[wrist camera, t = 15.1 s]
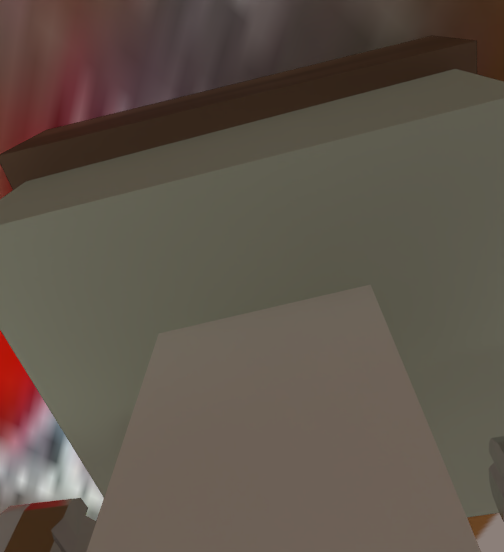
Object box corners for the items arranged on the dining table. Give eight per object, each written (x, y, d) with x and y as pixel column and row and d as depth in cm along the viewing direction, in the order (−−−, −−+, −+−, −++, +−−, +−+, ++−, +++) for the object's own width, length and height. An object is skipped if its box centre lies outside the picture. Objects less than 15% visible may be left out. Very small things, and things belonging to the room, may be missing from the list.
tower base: (51, 127, 17) (-4, 156, 13) (426, 35, 15) (476, 40, 12) (165, 398, 23) (147, 467, 19) (441, 352, 21) (477, 418, 18)
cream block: (158, 333, 11) (66, 612, 6) (370, 284, 10) (481, 553, 5) (222, 473, 13) (197, 766, 8) (400, 441, 13) (498, 739, 7)
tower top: (25, 181, 14) (-56, 238, 10) (455, 68, 12) (536, 89, 8) (165, 462, 19) (143, 562, 16) (471, 410, 18) (524, 508, 14)
